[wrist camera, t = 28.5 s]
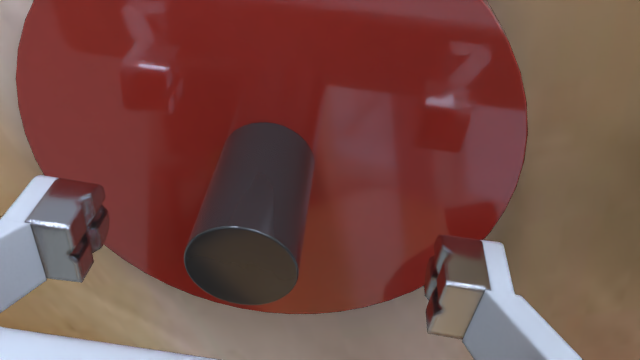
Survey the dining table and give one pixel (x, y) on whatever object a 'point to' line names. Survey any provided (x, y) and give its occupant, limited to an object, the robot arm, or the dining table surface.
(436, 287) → the robot arm
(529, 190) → the dining table surface
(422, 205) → the pot lid
